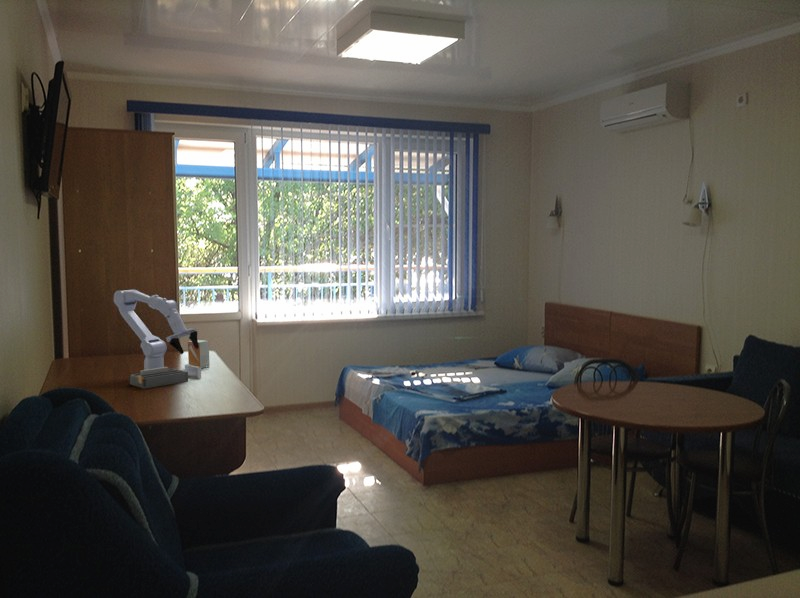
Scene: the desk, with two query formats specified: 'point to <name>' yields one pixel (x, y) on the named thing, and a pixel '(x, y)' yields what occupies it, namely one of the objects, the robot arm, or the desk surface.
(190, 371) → the panel
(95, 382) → the desk surface
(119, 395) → the desk surface
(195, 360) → the small box
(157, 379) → the rack
